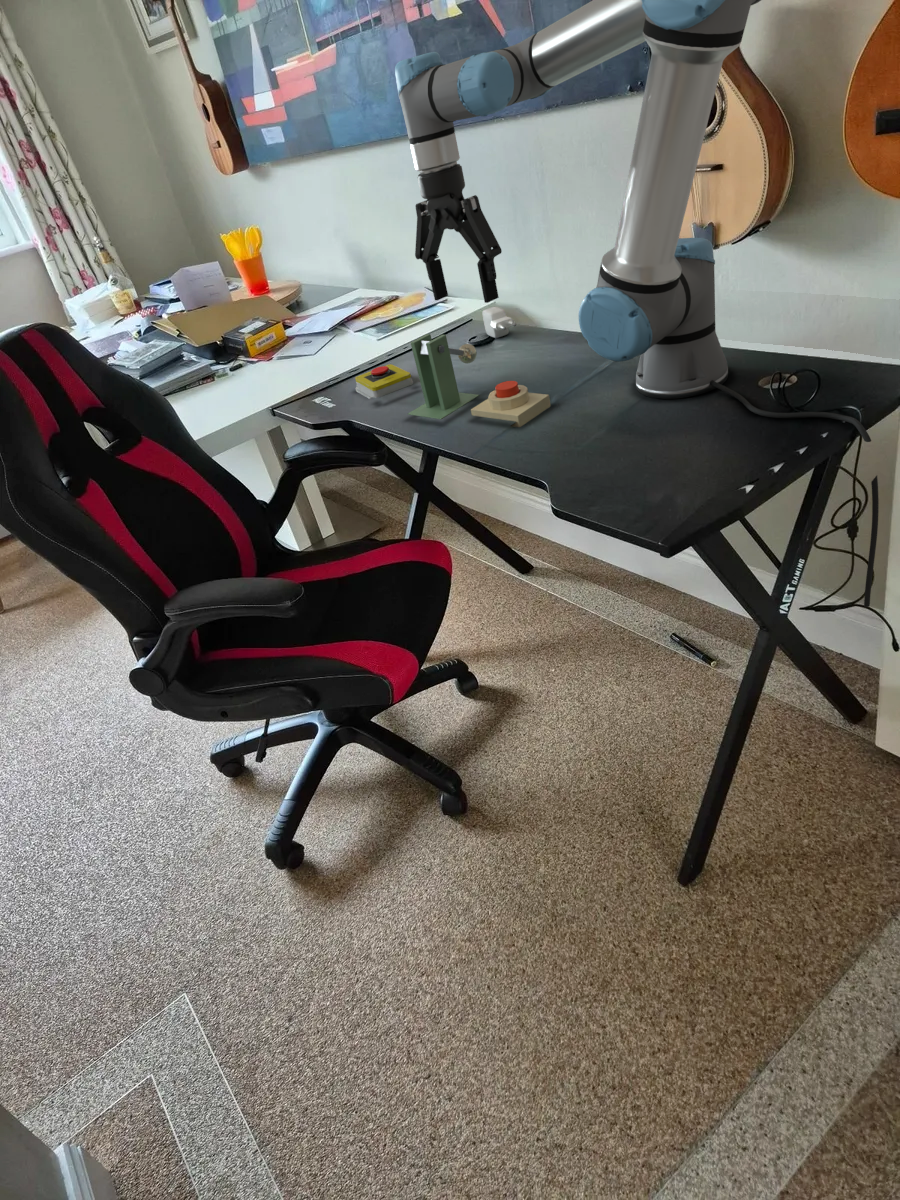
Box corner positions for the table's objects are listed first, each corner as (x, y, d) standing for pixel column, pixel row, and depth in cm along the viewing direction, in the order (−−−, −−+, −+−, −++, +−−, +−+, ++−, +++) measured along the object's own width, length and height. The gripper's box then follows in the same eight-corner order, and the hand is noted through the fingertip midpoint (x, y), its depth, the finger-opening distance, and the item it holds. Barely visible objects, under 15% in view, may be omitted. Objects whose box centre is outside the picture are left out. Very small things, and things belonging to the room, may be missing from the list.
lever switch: (465, 363, 152) (467, 344, 151) (479, 364, 149) (481, 345, 148) (417, 357, 142) (418, 336, 141) (430, 358, 140) (432, 337, 139)
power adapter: (522, 338, 174) (518, 311, 171) (503, 345, 173) (498, 318, 170) (501, 329, 183) (497, 304, 180) (483, 335, 182) (478, 310, 179)
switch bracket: (447, 396, 154) (431, 327, 146) (480, 400, 148) (465, 328, 141) (408, 419, 148) (390, 348, 141) (442, 424, 143) (424, 351, 135)
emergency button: (387, 356, 170) (415, 369, 158) (392, 375, 172) (420, 390, 161) (348, 371, 167) (375, 385, 156) (354, 390, 170) (380, 405, 158)
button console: (550, 406, 138) (547, 384, 136) (519, 427, 134) (515, 405, 132) (503, 400, 146) (500, 380, 143) (472, 420, 141) (468, 400, 139)
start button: (523, 391, 137) (522, 381, 136) (509, 400, 135) (508, 390, 134) (506, 389, 140) (504, 379, 139) (492, 398, 138) (490, 388, 137)
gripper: (507, 154, 121) (529, 293, 132) (409, 168, 138) (437, 290, 150) (472, 166, 117) (499, 308, 129) (376, 179, 135) (407, 303, 147)
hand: (465, 299), depth 140 cm, fingers open, 13 cm apart
